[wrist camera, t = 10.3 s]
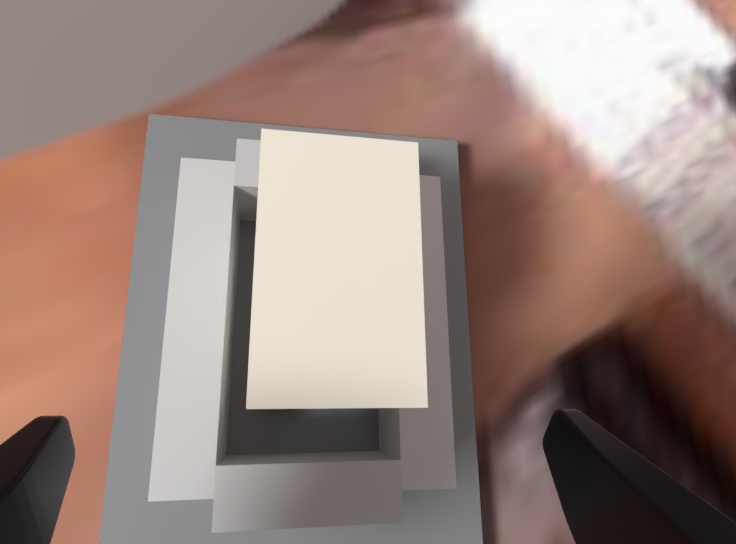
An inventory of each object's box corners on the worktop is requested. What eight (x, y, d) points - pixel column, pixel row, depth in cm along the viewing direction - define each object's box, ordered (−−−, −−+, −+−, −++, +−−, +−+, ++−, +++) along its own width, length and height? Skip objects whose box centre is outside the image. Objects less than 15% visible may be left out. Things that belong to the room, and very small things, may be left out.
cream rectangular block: (350, 406, 17) (428, 407, 8) (260, 407, 16) (246, 409, 8) (350, 252, 18) (417, 120, 10) (268, 248, 18) (262, 104, 9)
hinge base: (471, 564, 17) (529, 612, 13) (104, 591, 15) (45, 657, 11) (447, 154, 22) (486, 98, 18) (156, 131, 19) (126, 60, 15)
